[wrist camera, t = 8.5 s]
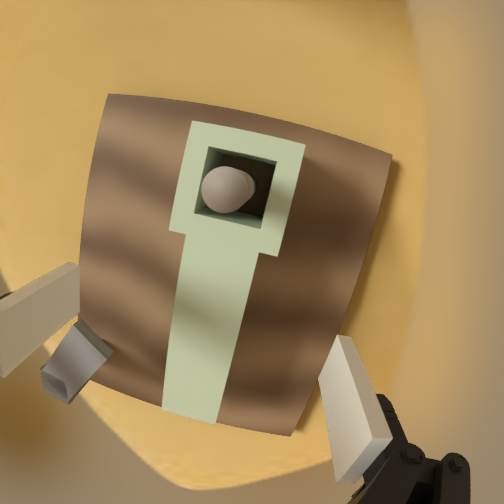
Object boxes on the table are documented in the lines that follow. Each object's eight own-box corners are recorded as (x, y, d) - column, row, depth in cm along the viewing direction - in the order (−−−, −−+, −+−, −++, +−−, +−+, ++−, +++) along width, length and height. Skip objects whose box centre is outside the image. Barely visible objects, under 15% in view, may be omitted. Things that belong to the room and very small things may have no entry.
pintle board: (114, 96, 20) (33, 61, 10) (387, 155, 20) (464, 144, 10) (85, 370, 26) (34, 430, 16) (290, 429, 26) (293, 511, 16)
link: (210, 133, 20) (192, 120, 15) (297, 153, 20) (305, 144, 15) (167, 368, 24) (148, 405, 19) (235, 387, 24) (228, 427, 19)
